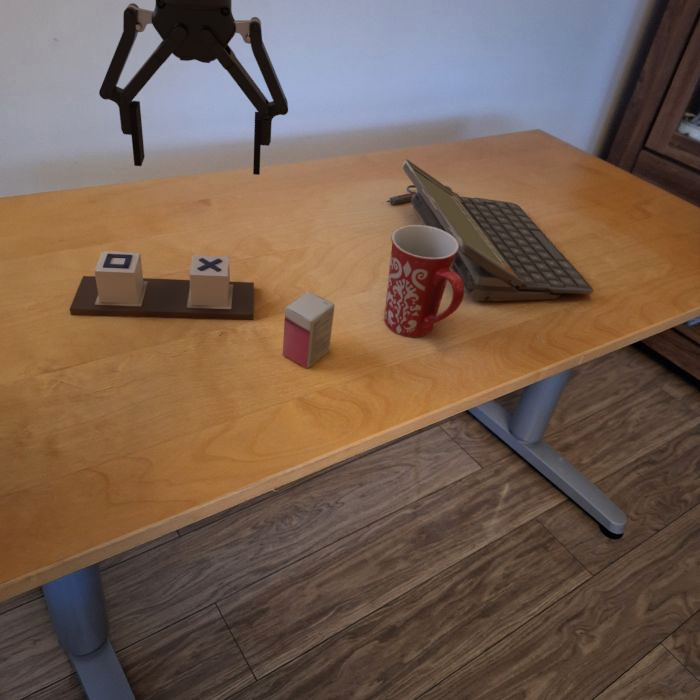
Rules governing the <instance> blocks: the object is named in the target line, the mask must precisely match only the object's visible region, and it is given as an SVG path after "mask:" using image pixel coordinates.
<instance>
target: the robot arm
mask: <svg viewBox="0 0 700 700" xmlns="http://www.w3.org/2000/svg"><path fill="white" fill-rule="evenodd" d="M122 19H123V22H122V25H123V26H122V27H123V29H122V33H121V36H120V38H119V41H118V44H117V46H116V49H115V50H114V53H113V55H112V58H111V61H110V64H109V66H108V69H107V71H106V74H105V76H104V79H103V81H102V83H101V86H100V89H99V91H98V95H99V96H100V98H101V99H102V100H106V101H107V100H110V101H111V102H114V103H115V104H116V105H117V106H118V111H119V121H120V130H121V132H122V134H123V135H126V136H127V135H129V136H131V145H132V155H133V165H134V167H142V165H143V162H144V160H145V157H146V156H145V144H144V134H143V123H142V114H141V113H142V111H141V101H139V100H134V99H135V98H136V97H137V96H138V94H139V93H140V92H141V90H142V89H144V87H145V86H146V85H147V83H148V82H149V81H150V80H151V78H153V76H154V75H155V74H156V72H157V71H158V70H159V69H160V68H161V66H162V65H163V64H164V63H165V62H166V61H167V60H168V59H169V58H170V56H171V55H173V56H174V57H176V58H177V59H179V61H182V62H183V61H184V62H189V61H198V62H200V63H205V64H210V63H211V62H214V61H216V60H217V61H218V63H219V64H220V65H221V67H222V68H223V69H224V70H226V71H227V73H228V74H229V75H230V77H231V78H232V80H233V81H234V82H235V84H237V87H239V89H240V90H241V91H242V93H243V94H244V95H245V96H246V98H247V99H248V101H249V102H250V103H251V105H252V106H253V107H254V108H255V110H256V111H254V132H253V133H254V134H253V136H254V137H253V165H252V166H253V167H252V168H253V169H252V170H253V171H252V174H253V175H256V176H257V175H258V176H260V174H261V149H262V148H261V146H267V147H269V146H270V144H271V142H272V124H273V123H272V121H273V119H274V118H275V117H277V116H286V115H287V114H288V113H289V104H288V99H287V96H286V94H285V92H284V89H283V86H282V85H281V82H280V80H279V78H278V75H277V73H276V70H275V68H274V64H273V62H272V60H271V58H270V56H269V53H268V51H267V48H266V46H265V44H264V41H263V31H262V21H261V19H260V18H258V17H257V16H253V17H251V18H250V19H247V20H246V19H245V20H243V19H242V20H241V19H240V20H239V19H238V20H236V19H235V17H234V15H233V10H232V0H155V6H154V10H150V9H146V8H140V7H139V6H138V5H137V4H136V3H129V4H128V5H127V6H126V7H125V9H124V10H123V18H122ZM149 24H150V25H151V24H152V27H153V28H154V30H155V31H156V32H157V34H158V35H159V37H160V38H161V39H162V40H161V41H160V43H159V44H158V46H157V47H156V48H155V50H153V52H152V53H151V55H150V56H149V57H148V58H147V59H146V60H145V62H144V63H143V64H142V66H141V67H140V68H138V70H137V71H136V73H135V74H134V75H133V77H132V78H131V79H130V80H129V82H128V83H127V84H126V85H125V86H124V87H119V86H118V83H119V82H120V78H121V76H122V73H123V71H124V68H125V66H126V63H127V62H128V60H129V59H128V58H129V57H130V54H131V52H132V49H133V47H134V45H135V42H136V39H137V37H138V34H139V33H143V32H144V31H145V30H146V28H147V25H149ZM236 34H239V35H240V36H241V37H242V40H243V42H244V43H245V44H248V45H249V44H250V48H251V51H252V54H253V56H254V59H255V61H256V64H257V67H258V68H259V70H260V71H259V72H260V73H261V76H262V77H263V80H264V83H265V85H266V87H267V89H268V92H269V94H270V97H271V99H272V100H271V101H269V100H268V98H267V97H266V95H264V93H263V92H262V90H261V88H259V85H257V83H256V82H255V81H254V80H253V78H252V77H251V75H250V74H249V72H248V71H247V70H246V68H245V67H244V65H242V63H241V62H240V60H239V59H238V57H237V56H236V53H235V52H234V51H233V49H232V48H231V46H230V45H229V44H230V42H231V40H233V38H234V36H235V35H236Z"/></svg>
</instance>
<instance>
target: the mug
mask: <svg viewBox="0 0 700 700" xmlns="http://www.w3.org/2000/svg"><path fill="white" fill-rule="evenodd" d="M390 239H391V253H390V259H389V270H388V279H387V288H386V299H385V307H384V316H383V320H384V323H385V325H386V326H387V328H388V329H389V330H390V331H392V332H394V333H396V334H398V335H401V336H403V337H404V336H405V337H409V338H419V337H423V336H426V335H429V334H430V333H431V332H432V331H433V329H434V326H435V324H438V323H439V322H441V321H443V320H446V319H447V318H448V317H450V316H451V315H453V314H454V313H455V312H456V311H457V310H458V309H459V307H460V306H461V304H462V301H463V299H464V294H465V290H464V284H463V281H462V279H461V277H460V276H459V275H458V274H457V273H456V272H454V271H452V269H451V267H452V264H453V261H454V257H455V254H456V253H457V251H458V249H459V244H458V242H457V240H456V239H455V238H454V237H453V236H452V235H450V234H449V233H447V232H445V231H443V230H441V229H438V228H435V227H431V226H425V225H423V224H408V225H404V226H401V227H398V228H397V229H395V230H394V231H393V233H391V237H390ZM448 282H449V284H450V285H451V288H452V297H451V301H450V304H449V306H448V307H447V308H446V309H445V310H444V311H443V312H441V313H440V314H439V310H440V306H441V303H442V300H443V296H444V293H445V289H446V286H447V283H448Z"/></svg>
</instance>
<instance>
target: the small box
mask: <svg viewBox="0 0 700 700" xmlns="http://www.w3.org/2000/svg"><path fill="white" fill-rule="evenodd" d="M335 306H336V305H335V303H334V302H331V301H329V300H327V299H325V298H323V297H321V296H319V295H317V294H315V293H313V292H311V291H306V292H305V293H304V294H302V295H301V296H299V297H297V298H296V299H295V300H293V301H292V302H290V303H289V304H288V305H286V306H285V307H284V324H283V339H282V356H283V357H286V358H287V359H288V360H290V361H292V362H294V363H295V364H298V365H300V366H301V367H303V368H305V369H309V368H310V367H312V365H314V364H315V363H317V362H318V361H319V360H320V359H321V358H322V357H323V356H325V355H326V354H327V353H328V352H329V351H330V345H331V339H332V338H331V337H332V331H333V330H332V329H333V323H334V322H333V321H334V313H335Z"/></svg>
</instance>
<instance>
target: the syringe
mask: <svg viewBox="0 0 700 700" xmlns="http://www.w3.org/2000/svg"><path fill="white" fill-rule="evenodd" d="M445 186H446V187H447V188H448V189H450V190H451V191H453V189H452V187H450V186H448V185H445ZM411 188H412V189H413V188H414V189H416V187H415V186H414V184H411V185H408V186H407V187H406V192H408V193H404V194H399V195H394V196H391V197H389V199H387V200H386V201H383V202H382V204H383V203H388V204H389V203H390V205H394V204H399V203H404V202H410V201H412V197H413V195H414V194H415V193H416V191H413V190H411Z"/></svg>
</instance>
